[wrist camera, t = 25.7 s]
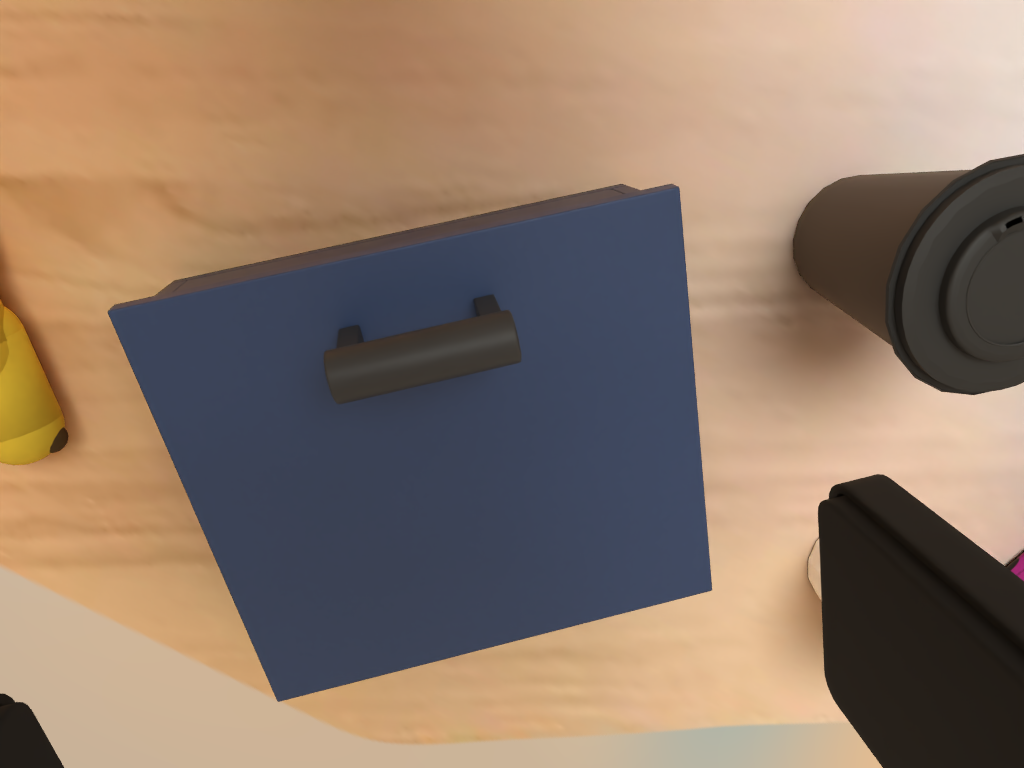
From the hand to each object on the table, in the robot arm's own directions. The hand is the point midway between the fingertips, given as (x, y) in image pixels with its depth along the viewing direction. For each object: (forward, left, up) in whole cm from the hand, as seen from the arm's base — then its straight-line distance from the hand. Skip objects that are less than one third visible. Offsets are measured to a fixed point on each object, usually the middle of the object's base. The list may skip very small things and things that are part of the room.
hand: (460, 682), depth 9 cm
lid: (+6, 0, -18) cm, 19 cm away
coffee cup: (+3, +19, -24) cm, 31 cm away
